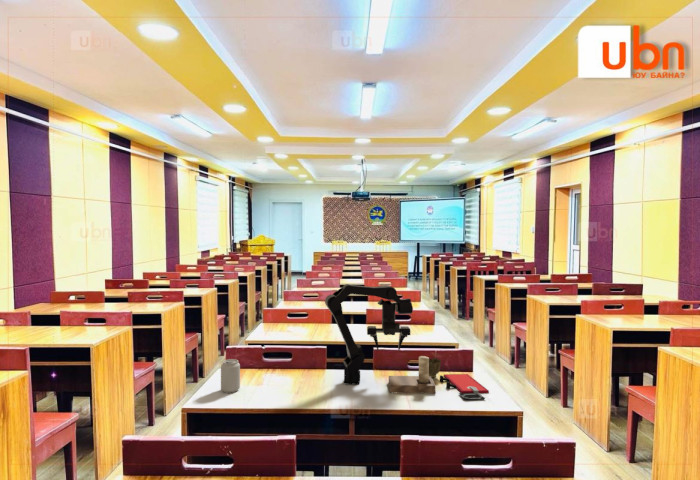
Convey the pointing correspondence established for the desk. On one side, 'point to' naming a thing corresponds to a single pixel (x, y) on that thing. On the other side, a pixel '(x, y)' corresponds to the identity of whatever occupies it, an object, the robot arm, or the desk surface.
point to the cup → (434, 367)
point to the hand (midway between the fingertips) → (388, 350)
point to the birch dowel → (423, 370)
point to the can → (230, 375)
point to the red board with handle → (464, 385)
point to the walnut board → (410, 385)
